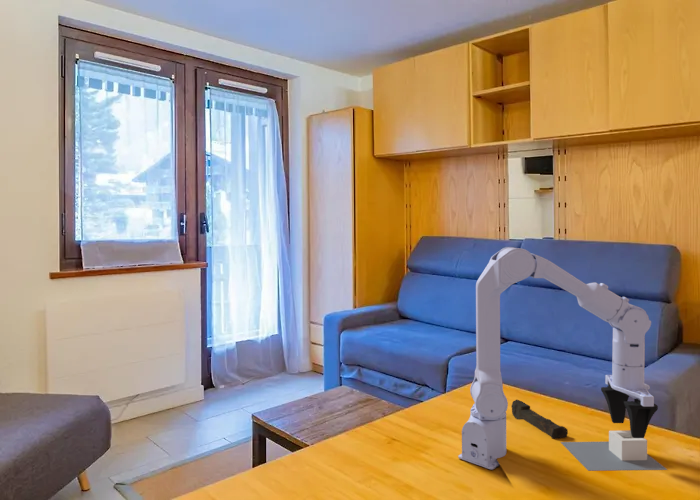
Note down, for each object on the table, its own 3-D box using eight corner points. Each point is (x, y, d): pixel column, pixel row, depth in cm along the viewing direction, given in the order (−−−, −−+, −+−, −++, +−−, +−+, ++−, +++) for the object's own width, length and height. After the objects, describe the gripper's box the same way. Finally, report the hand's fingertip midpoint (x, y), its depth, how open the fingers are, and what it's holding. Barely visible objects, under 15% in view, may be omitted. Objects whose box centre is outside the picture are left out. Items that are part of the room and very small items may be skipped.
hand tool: (569, 444, 112) (569, 423, 112) (552, 445, 111) (552, 424, 111) (522, 414, 131) (522, 396, 131) (508, 415, 130) (508, 397, 130)
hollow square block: (621, 460, 101) (621, 440, 100) (608, 449, 106) (608, 430, 105) (647, 460, 101) (647, 440, 100) (632, 449, 106) (632, 430, 105)
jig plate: (588, 476, 97) (588, 454, 97) (560, 447, 110) (560, 428, 110) (667, 475, 97) (667, 453, 96) (630, 446, 110) (630, 427, 109)
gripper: (670, 373, 95) (669, 444, 96) (628, 354, 110) (628, 416, 110) (632, 373, 95) (632, 444, 96) (595, 354, 110) (595, 416, 110)
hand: (627, 429), depth 103 cm, fingers open, 7 cm apart
